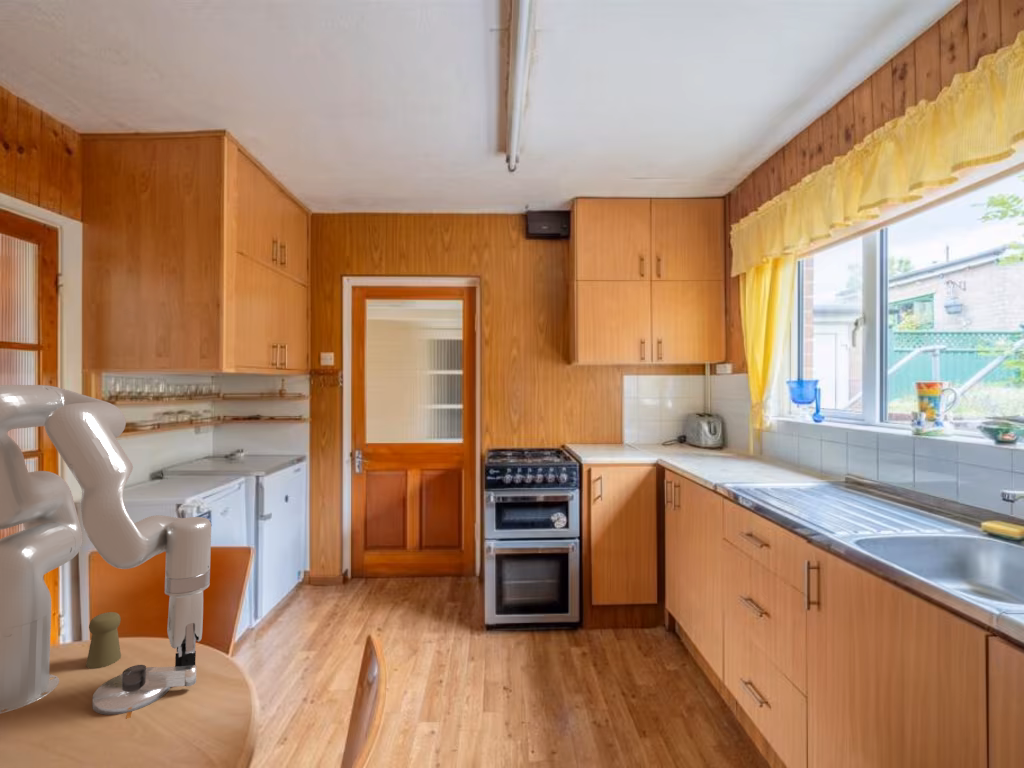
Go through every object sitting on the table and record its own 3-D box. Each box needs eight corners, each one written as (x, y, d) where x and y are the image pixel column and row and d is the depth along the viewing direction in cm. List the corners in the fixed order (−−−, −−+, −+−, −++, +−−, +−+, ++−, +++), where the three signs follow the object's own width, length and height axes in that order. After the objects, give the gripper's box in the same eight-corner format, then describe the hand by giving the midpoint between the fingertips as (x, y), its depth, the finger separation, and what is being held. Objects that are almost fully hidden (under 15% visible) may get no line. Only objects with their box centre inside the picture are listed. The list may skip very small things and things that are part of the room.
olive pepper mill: (100, 676, 100) (102, 623, 100) (77, 672, 101) (78, 619, 101) (129, 660, 106) (130, 610, 106) (106, 656, 107) (108, 607, 107)
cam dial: (75, 716, 87) (76, 691, 87) (119, 676, 98) (120, 654, 98) (178, 710, 89) (179, 686, 89) (209, 672, 101) (210, 650, 101)
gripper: (161, 573, 100) (158, 662, 100) (169, 599, 89) (166, 698, 89) (203, 565, 105) (200, 650, 105) (216, 589, 94) (213, 683, 94)
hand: (185, 672), depth 97 cm, fingers closed
